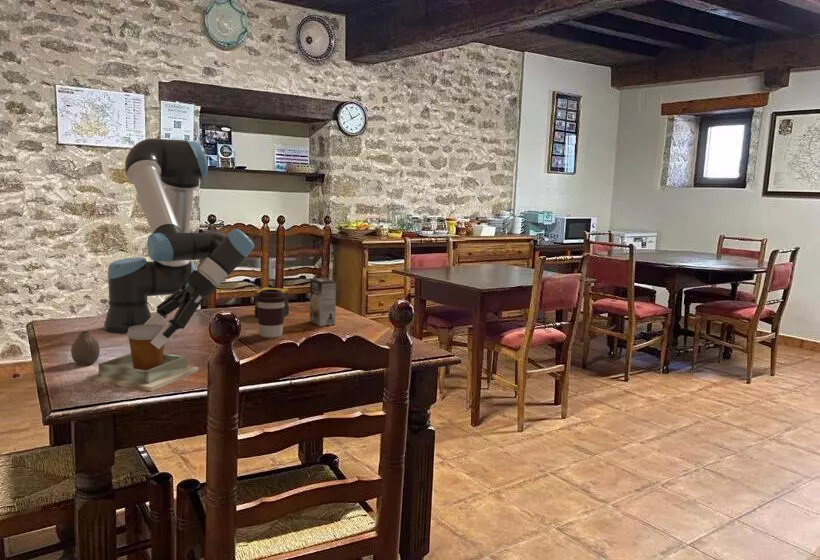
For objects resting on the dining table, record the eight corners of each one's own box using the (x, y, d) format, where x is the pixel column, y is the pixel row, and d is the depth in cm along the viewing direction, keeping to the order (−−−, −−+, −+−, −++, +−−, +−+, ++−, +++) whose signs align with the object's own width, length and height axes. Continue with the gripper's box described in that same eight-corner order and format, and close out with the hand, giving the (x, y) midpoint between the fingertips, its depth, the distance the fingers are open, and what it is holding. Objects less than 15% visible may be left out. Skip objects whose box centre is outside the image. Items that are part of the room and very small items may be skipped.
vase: (81, 368, 168) (79, 336, 167) (66, 364, 172) (64, 332, 170) (105, 362, 174) (104, 331, 172) (90, 358, 177) (89, 327, 176)
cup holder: (85, 380, 159) (85, 364, 158) (137, 361, 176) (137, 347, 175) (151, 391, 153) (151, 375, 152) (198, 371, 170) (198, 356, 169)
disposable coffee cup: (172, 375, 162) (172, 329, 160) (133, 381, 156) (132, 333, 154) (161, 366, 169) (160, 322, 167) (123, 371, 163) (122, 326, 162)
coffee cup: (278, 340, 204) (279, 294, 202) (250, 337, 206) (250, 292, 204) (290, 333, 214) (291, 289, 212) (263, 330, 216) (263, 287, 213)
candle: (264, 312, 245) (264, 287, 243) (289, 314, 243) (289, 288, 242) (253, 318, 235) (253, 291, 233) (280, 320, 233) (280, 293, 232)
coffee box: (308, 321, 232) (309, 278, 230) (324, 319, 236) (325, 277, 233) (320, 326, 225) (320, 282, 222) (336, 325, 228) (337, 280, 226)
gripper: (231, 295, 161) (171, 360, 155) (202, 280, 181) (148, 337, 175) (210, 276, 157) (147, 342, 151) (183, 262, 177) (127, 320, 171)
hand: (148, 339), depth 163 cm, fingers open, 13 cm apart
